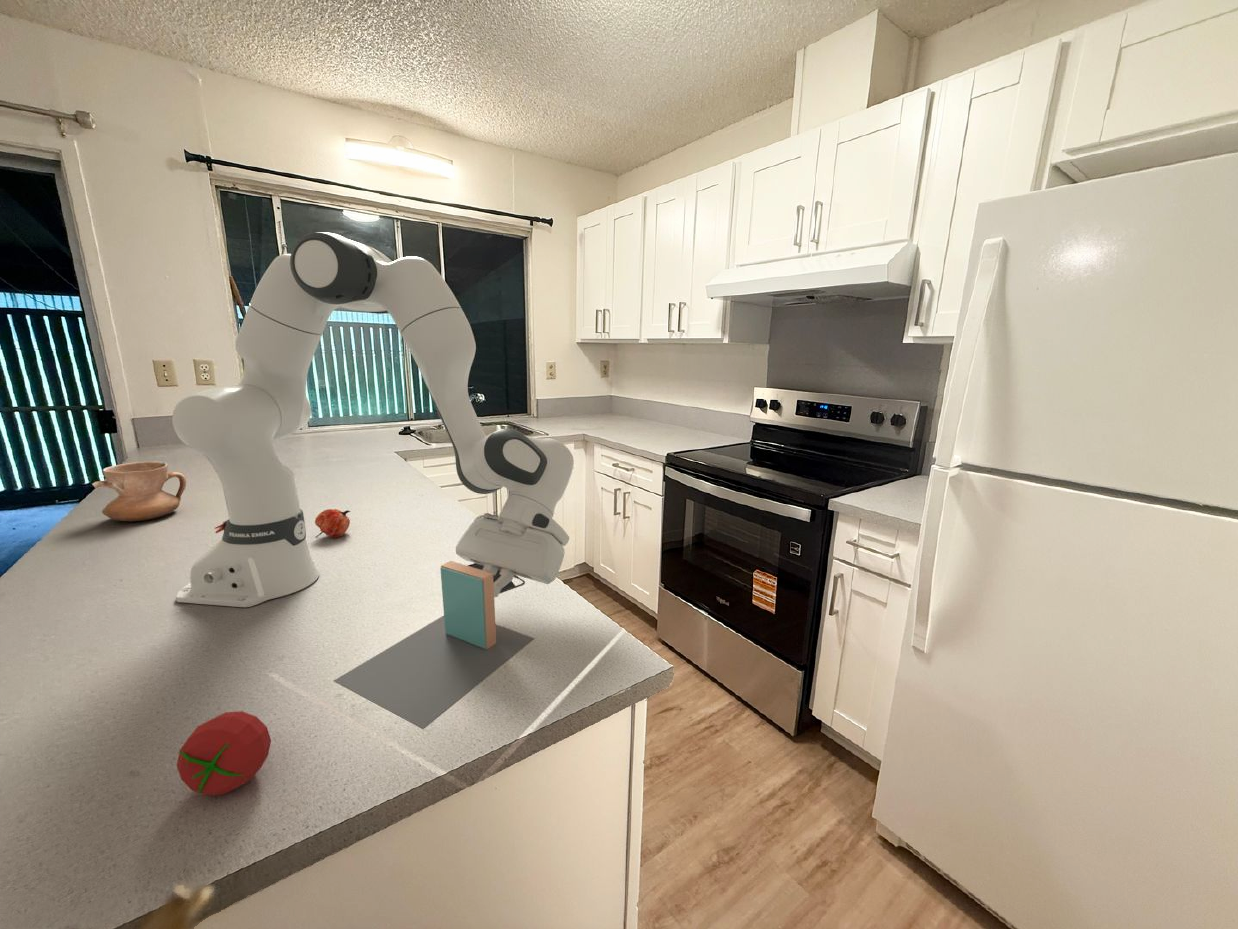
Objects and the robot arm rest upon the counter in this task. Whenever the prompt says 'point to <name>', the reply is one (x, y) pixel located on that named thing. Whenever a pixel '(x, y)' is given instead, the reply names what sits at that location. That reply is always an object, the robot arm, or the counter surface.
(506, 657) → the mat
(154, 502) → the ceramic jug
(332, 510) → the pomegranate
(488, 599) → the tile
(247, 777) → the tomato
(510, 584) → the phone
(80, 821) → the counter surface
